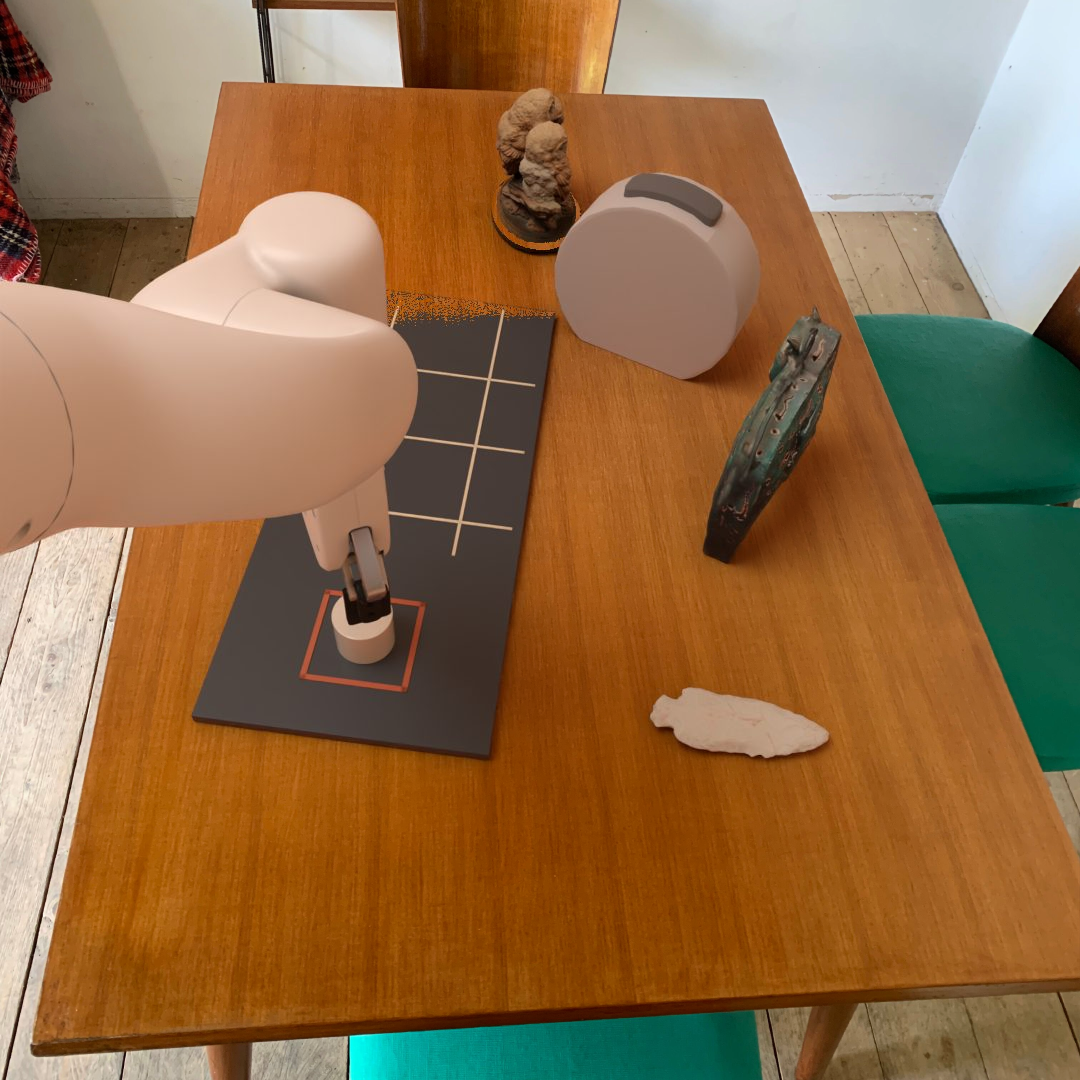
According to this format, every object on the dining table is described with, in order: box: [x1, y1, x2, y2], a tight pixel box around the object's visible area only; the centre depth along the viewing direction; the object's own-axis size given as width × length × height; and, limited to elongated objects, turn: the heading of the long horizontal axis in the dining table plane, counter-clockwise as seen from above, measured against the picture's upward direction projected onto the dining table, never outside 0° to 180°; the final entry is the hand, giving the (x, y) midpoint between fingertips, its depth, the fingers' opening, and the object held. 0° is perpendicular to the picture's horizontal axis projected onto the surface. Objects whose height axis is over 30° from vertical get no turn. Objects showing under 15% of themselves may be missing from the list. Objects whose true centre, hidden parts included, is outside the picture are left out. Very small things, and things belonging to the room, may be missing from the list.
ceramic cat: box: [702, 304, 842, 564], centre depth 85 cm, size 20×6×20 cm, turn 152°
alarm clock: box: [554, 172, 762, 380], centre depth 99 cm, size 21×8×20 cm, turn 63°
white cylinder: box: [331, 596, 395, 664], centre depth 77 cm, size 5×5×4 cm
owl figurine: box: [490, 87, 576, 253], centre depth 113 cm, size 18×12×17 cm, turn 7°
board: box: [191, 289, 556, 761], centre depth 91 cm, size 56×24×1 cm, turn 174°
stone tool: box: [649, 686, 830, 759], centre depth 77 cm, size 6×2×15 cm
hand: (351, 566), depth 69 cm, fingers open, 9 cm apart
